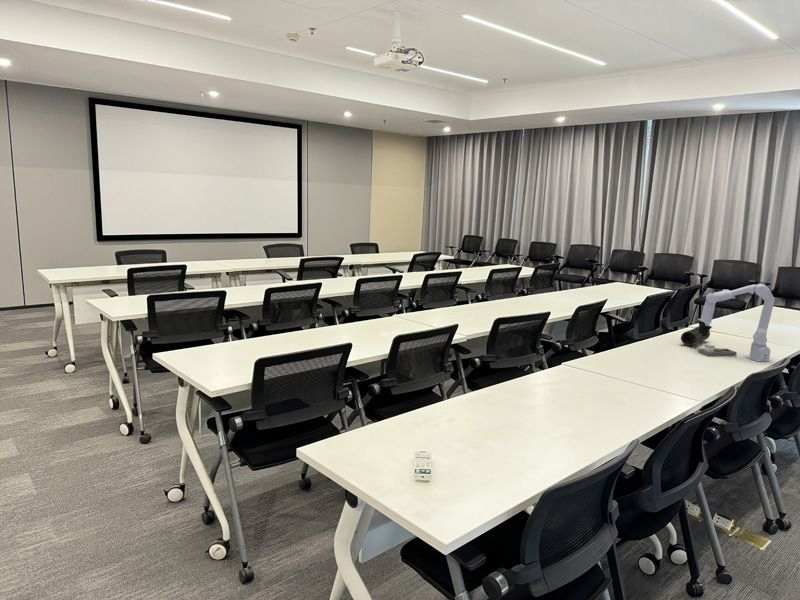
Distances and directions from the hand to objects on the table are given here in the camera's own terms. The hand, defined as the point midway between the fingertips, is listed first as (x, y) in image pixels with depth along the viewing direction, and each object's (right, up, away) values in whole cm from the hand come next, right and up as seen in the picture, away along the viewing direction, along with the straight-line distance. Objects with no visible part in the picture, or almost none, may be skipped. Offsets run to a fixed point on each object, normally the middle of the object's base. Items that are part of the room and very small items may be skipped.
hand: (702, 334), depth 327 cm
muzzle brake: (+7, -7, +20) cm, 23 cm away
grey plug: (0, -11, -6) cm, 13 cm away
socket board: (+6, -11, -5) cm, 14 cm away
